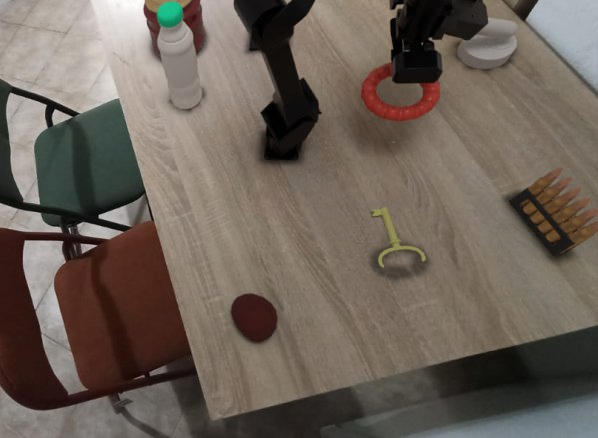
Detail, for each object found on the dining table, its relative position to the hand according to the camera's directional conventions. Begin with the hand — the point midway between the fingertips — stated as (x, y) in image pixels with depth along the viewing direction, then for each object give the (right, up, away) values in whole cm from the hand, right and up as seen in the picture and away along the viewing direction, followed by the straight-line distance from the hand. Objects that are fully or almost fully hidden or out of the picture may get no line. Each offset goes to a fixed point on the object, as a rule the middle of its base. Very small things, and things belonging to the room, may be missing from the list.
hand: (399, 69), depth 77 cm
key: (-2, -31, 0) cm, 31 cm away
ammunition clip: (+19, -28, -5) cm, 34 cm away
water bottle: (-34, +1, +24) cm, 42 cm away
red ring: (-1, -4, -2) cm, 5 cm away
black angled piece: (-15, +16, +25) cm, 33 cm away
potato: (-25, -44, 0) cm, 51 cm away
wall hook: (+22, +7, +10) cm, 25 cm away
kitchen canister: (-35, +17, +31) cm, 50 cm away
